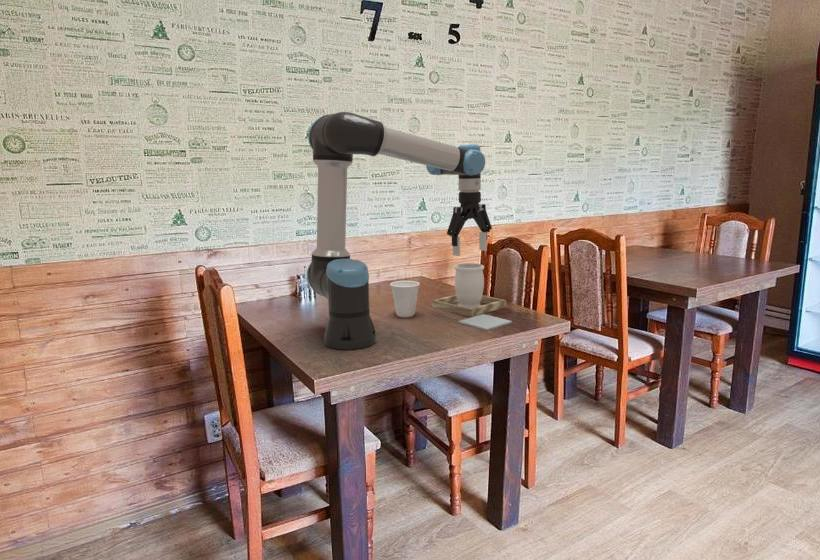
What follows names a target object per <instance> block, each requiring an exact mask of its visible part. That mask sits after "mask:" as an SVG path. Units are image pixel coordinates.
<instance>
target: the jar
mask: <svg viewBox="0 0 820 560" xmlns="http://www.w3.org/2000/svg"><path fill="white" fill-rule="evenodd" d="M454 270H455V274H454V290H455V295H456V297H457V300H458V302H457V303H458V304H457V305H458V306H462V307H466V308H474V307H478V306H482V305H481V302H480V301H481V299H482V295H483V294H484V288H485V277H484V272H483V270H485V265H483V264H481V263H468V262H467V263H459V264H456V265H454Z"/></svg>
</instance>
